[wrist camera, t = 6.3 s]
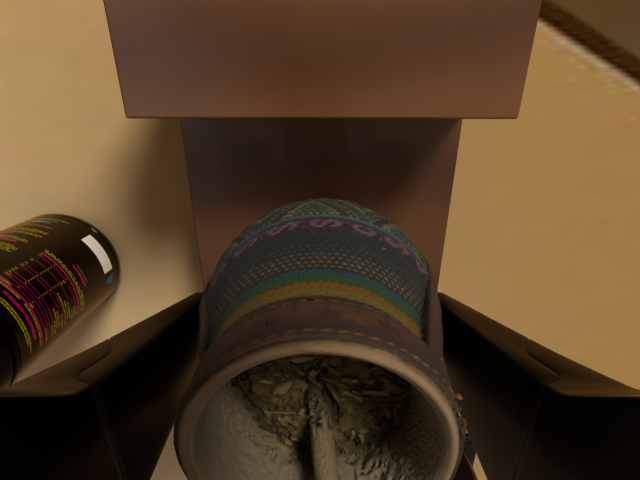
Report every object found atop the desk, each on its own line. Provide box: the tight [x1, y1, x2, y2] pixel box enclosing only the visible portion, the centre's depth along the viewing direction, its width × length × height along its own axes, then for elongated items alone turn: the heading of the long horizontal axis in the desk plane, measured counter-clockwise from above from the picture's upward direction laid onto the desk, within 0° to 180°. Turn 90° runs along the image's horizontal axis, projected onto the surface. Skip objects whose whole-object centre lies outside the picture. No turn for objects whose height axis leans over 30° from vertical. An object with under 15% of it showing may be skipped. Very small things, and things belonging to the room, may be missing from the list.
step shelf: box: [103, 0, 542, 290], centre depth 17 cm, size 16×14×8 cm
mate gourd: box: [174, 198, 466, 480], centre depth 9 cm, size 7×8×10 cm
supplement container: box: [0, 214, 120, 389], centre depth 18 cm, size 7×7×10 cm
